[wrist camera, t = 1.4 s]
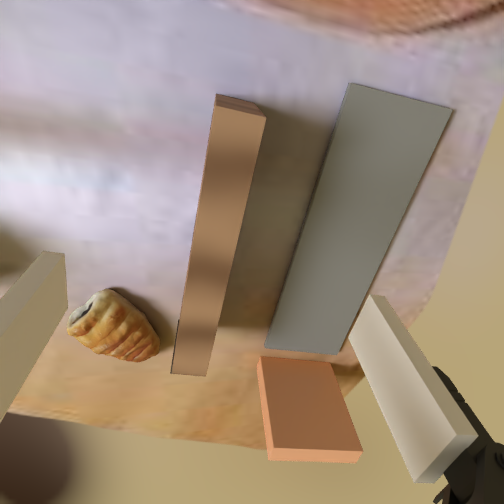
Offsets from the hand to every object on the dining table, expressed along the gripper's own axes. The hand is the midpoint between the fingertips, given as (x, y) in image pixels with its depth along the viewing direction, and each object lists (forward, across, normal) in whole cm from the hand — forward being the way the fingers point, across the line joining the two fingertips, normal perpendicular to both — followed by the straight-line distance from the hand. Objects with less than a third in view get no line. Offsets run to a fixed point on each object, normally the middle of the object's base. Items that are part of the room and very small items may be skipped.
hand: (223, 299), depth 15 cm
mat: (+17, +13, -5) cm, 22 cm away
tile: (+16, +13, -22) cm, 30 cm away
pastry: (+17, -8, -17) cm, 25 cm away
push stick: (+17, 0, -5) cm, 17 cm away
